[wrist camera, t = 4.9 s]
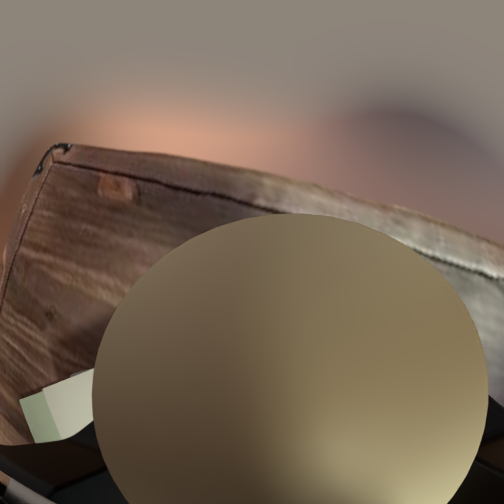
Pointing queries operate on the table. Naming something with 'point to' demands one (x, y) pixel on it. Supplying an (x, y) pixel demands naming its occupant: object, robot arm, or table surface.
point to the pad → (39, 418)
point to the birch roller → (290, 371)
